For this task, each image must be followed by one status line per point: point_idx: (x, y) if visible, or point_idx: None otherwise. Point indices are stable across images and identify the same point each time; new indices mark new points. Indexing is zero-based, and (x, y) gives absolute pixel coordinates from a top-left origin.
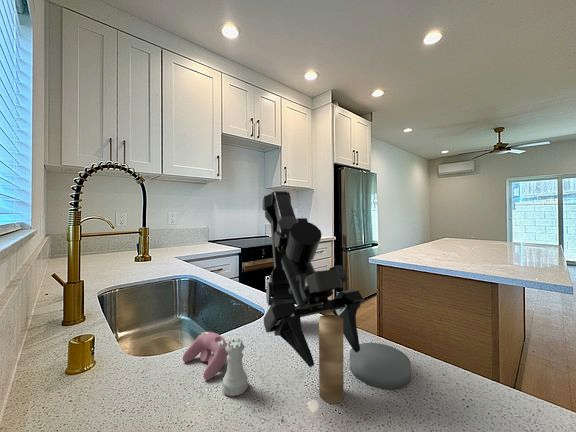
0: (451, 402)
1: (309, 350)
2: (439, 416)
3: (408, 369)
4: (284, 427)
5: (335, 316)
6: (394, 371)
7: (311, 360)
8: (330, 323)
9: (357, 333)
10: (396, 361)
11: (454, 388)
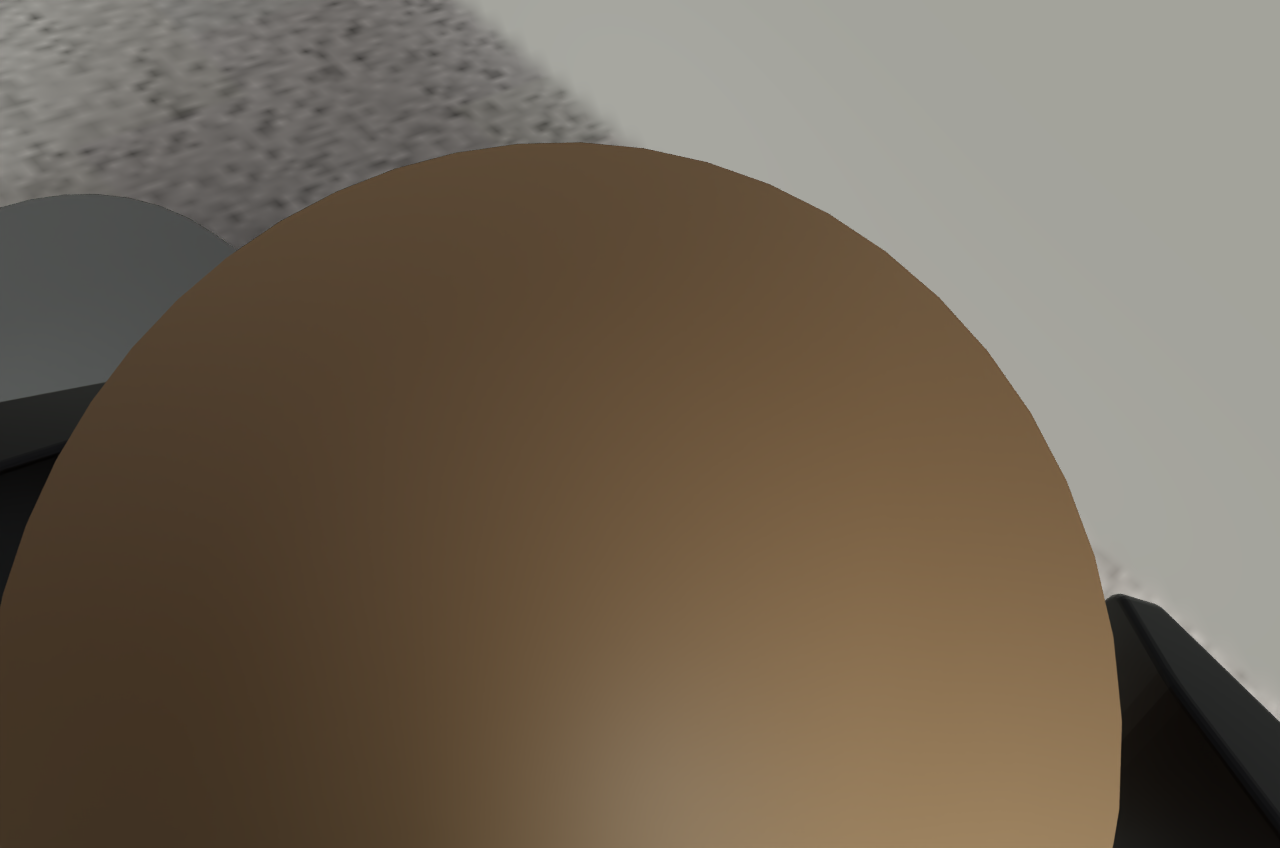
0: (202, 15)
1: (1218, 737)
2: (371, 22)
3: (81, 196)
4: (1224, 655)
5: (106, 686)
6: (181, 256)
7: (1172, 632)
8: (928, 377)
9: (70, 391)
10: (14, 310)
11: (48, 41)
